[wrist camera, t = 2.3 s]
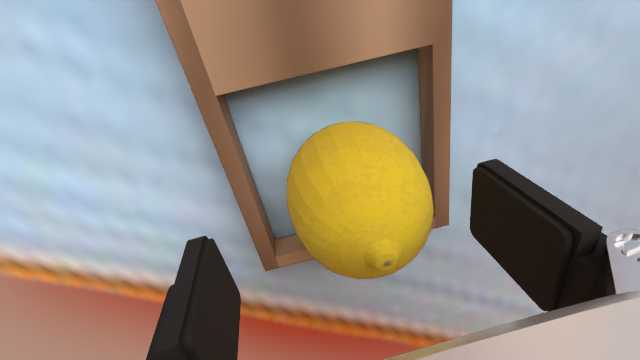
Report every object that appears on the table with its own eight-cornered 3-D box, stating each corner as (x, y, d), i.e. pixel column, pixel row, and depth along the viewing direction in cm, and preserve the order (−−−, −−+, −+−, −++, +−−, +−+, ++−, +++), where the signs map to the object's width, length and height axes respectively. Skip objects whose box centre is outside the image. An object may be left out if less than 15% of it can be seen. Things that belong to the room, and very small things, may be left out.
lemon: (312, 213, 18) (339, 345, 11) (262, 131, 15) (257, 240, 8) (401, 171, 17) (489, 282, 11) (366, 78, 15) (455, 147, 8)
